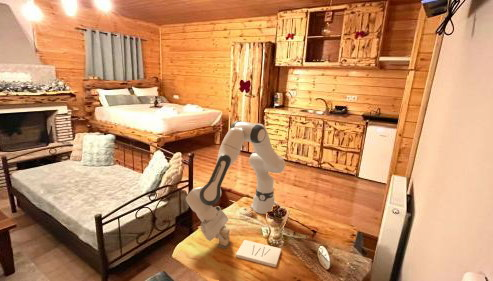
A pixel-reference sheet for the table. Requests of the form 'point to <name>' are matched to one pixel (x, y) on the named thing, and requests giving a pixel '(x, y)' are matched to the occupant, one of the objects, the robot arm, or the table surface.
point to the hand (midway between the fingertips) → (225, 237)
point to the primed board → (259, 253)
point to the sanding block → (224, 233)
